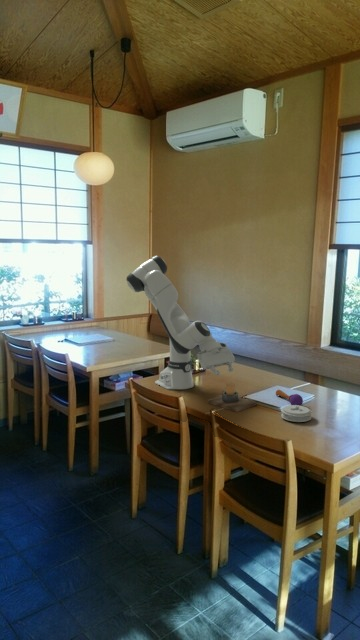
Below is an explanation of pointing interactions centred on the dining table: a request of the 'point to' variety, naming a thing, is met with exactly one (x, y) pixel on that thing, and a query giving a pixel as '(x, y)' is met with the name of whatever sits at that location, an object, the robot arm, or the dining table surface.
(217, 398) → the board
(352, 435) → the dining table surface
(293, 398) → the kendama
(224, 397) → the grey stone bowl
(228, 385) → the plug
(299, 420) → the lid
